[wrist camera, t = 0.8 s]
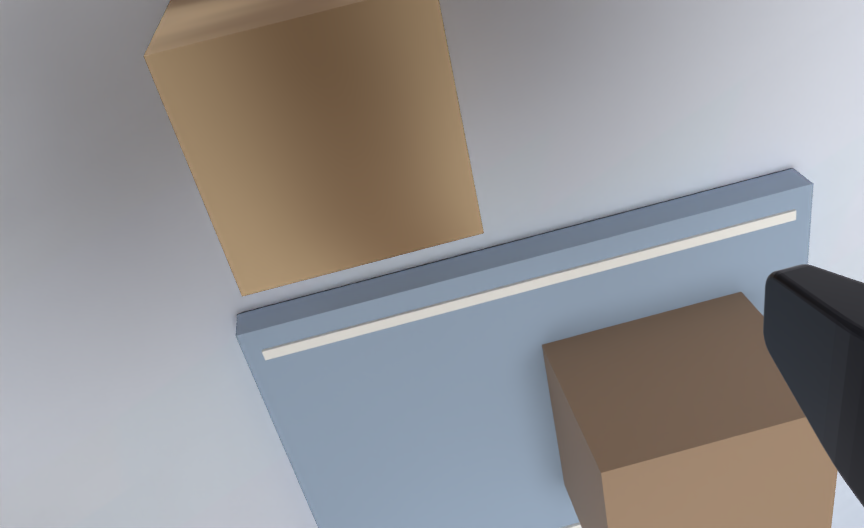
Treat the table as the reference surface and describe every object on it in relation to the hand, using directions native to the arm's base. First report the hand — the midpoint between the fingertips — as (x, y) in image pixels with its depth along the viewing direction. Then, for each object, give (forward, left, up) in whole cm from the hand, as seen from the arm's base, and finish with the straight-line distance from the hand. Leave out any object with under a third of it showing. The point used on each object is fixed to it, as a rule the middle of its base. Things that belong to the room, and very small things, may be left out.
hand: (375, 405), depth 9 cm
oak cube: (0, 0, -12) cm, 12 cm away
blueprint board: (+4, -12, -12) cm, 17 cm away
